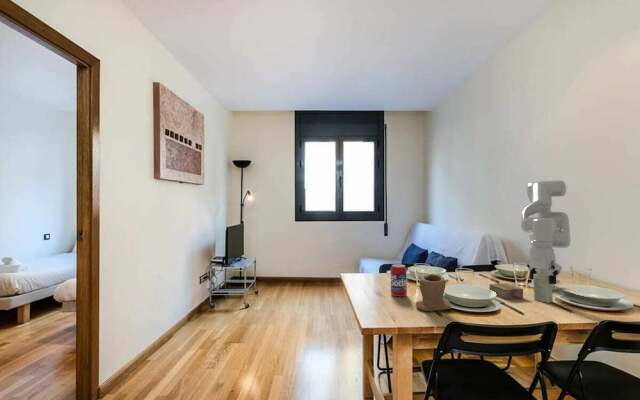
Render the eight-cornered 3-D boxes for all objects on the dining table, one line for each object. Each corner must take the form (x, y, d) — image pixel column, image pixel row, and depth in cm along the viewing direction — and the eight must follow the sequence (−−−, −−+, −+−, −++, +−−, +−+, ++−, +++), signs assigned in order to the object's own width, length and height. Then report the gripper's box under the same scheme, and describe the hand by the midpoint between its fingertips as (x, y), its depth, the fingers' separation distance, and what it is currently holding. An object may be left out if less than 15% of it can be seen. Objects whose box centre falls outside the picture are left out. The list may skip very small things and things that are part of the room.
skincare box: (553, 301, 140) (552, 275, 141) (549, 303, 138) (548, 276, 138) (536, 298, 146) (536, 272, 146) (533, 299, 143) (532, 274, 143)
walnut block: (507, 293, 155) (506, 283, 155) (523, 299, 145) (522, 288, 145) (489, 294, 153) (489, 284, 154) (504, 300, 144) (504, 289, 144)
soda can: (405, 293, 155) (405, 263, 155) (408, 297, 147) (407, 267, 147) (389, 292, 156) (389, 263, 156) (391, 297, 148) (391, 266, 148)
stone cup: (424, 315, 125) (424, 279, 125) (412, 305, 136) (412, 272, 136) (458, 313, 126) (458, 277, 126) (444, 304, 138) (443, 271, 138)
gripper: (519, 242, 150) (520, 277, 149) (553, 247, 133) (554, 286, 132) (532, 242, 151) (532, 277, 151) (567, 247, 134) (567, 285, 134)
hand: (542, 281), depth 141 cm, fingers open, 9 cm apart
